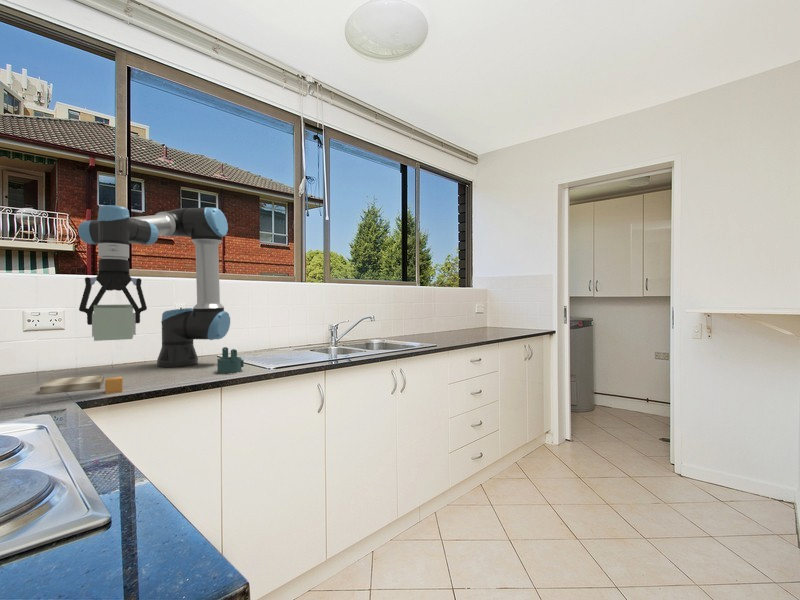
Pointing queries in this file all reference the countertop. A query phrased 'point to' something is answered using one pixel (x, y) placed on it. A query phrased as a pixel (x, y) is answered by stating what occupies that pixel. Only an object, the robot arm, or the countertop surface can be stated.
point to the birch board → (72, 384)
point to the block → (113, 385)
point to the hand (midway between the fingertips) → (114, 335)
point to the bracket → (229, 362)
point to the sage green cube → (113, 322)
